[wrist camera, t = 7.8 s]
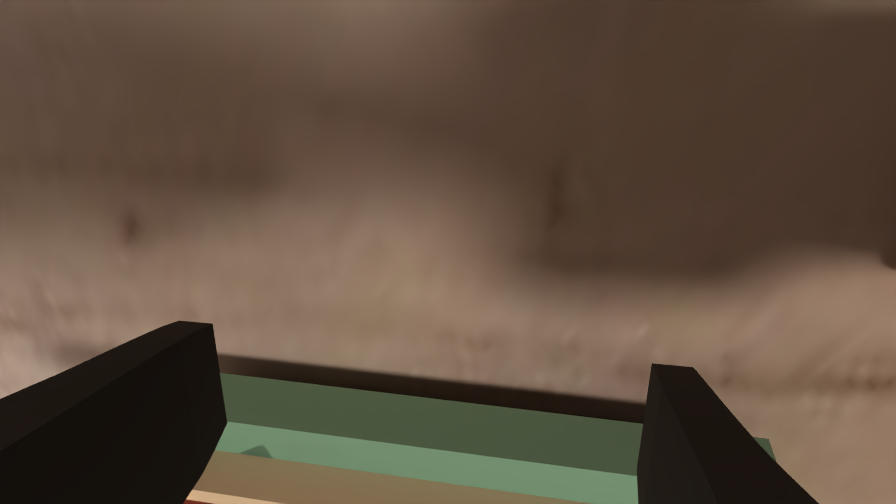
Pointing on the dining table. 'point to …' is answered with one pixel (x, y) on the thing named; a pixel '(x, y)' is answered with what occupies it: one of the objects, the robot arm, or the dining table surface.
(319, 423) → the board
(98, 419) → the robot arm
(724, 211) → the dining table surface
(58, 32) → the dining table surface
